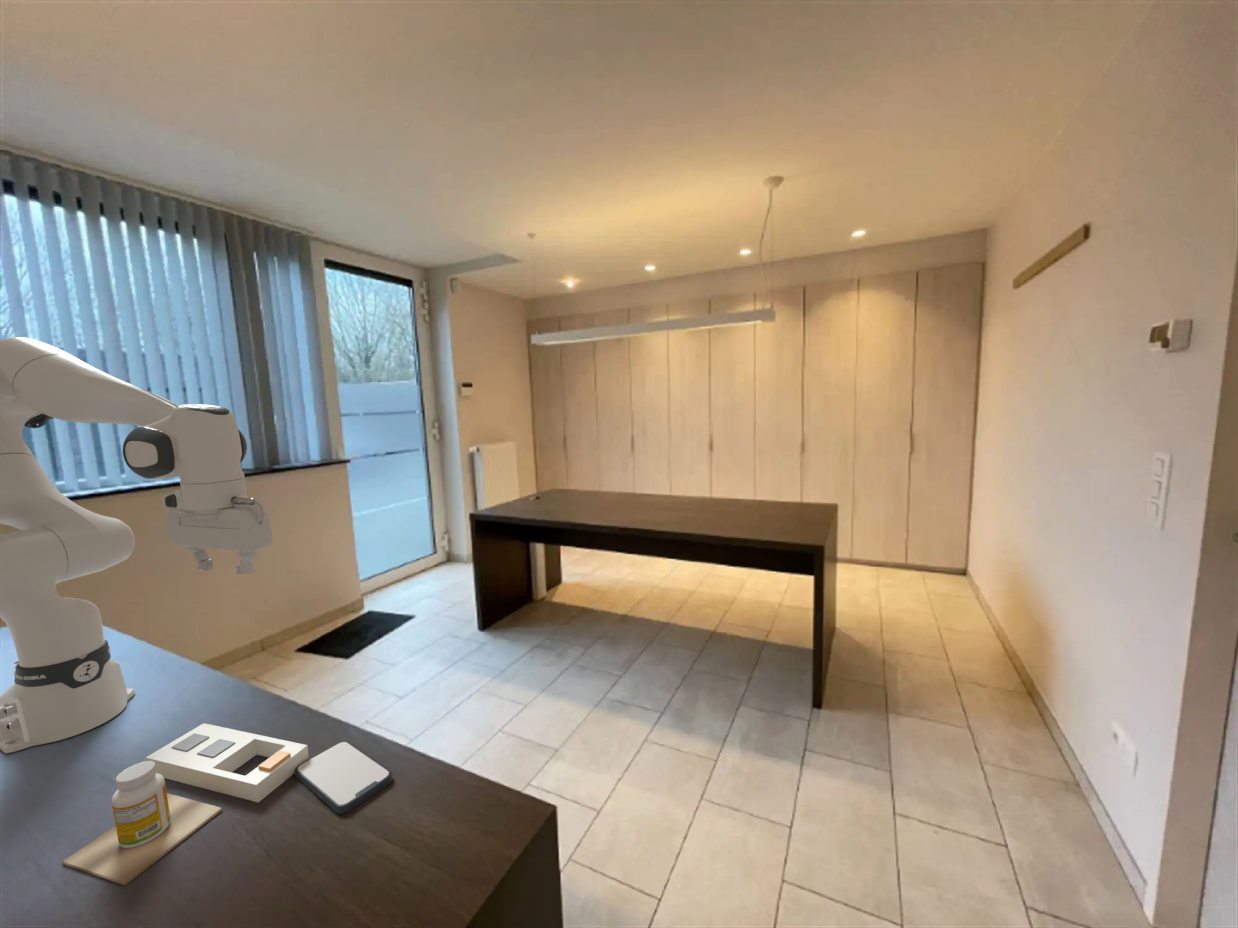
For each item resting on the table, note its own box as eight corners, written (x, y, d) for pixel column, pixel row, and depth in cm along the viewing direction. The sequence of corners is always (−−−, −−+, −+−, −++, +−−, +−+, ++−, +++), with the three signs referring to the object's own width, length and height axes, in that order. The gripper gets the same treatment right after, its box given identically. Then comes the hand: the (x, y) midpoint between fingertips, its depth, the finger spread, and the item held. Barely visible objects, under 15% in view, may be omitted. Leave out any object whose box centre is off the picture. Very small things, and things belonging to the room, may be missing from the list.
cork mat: (62, 863, 66) (62, 860, 66) (165, 794, 77) (164, 792, 77) (124, 885, 63) (124, 882, 63) (222, 810, 74) (221, 807, 74)
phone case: (291, 777, 81) (340, 820, 72) (290, 768, 81) (339, 810, 72) (346, 746, 89) (396, 781, 80) (345, 737, 89) (395, 772, 80)
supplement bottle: (142, 818, 73) (132, 758, 71) (180, 814, 73) (172, 755, 72) (107, 851, 67) (96, 787, 66) (149, 847, 68) (139, 783, 66)
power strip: (148, 773, 82) (145, 754, 81) (205, 737, 91) (203, 720, 90) (258, 802, 76) (255, 781, 75) (309, 760, 84) (307, 742, 84)
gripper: (277, 494, 87) (286, 569, 89) (193, 491, 92) (202, 562, 94) (242, 501, 81) (252, 582, 83) (154, 497, 86) (164, 573, 88)
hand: (225, 571), depth 88 cm, fingers open, 8 cm apart
